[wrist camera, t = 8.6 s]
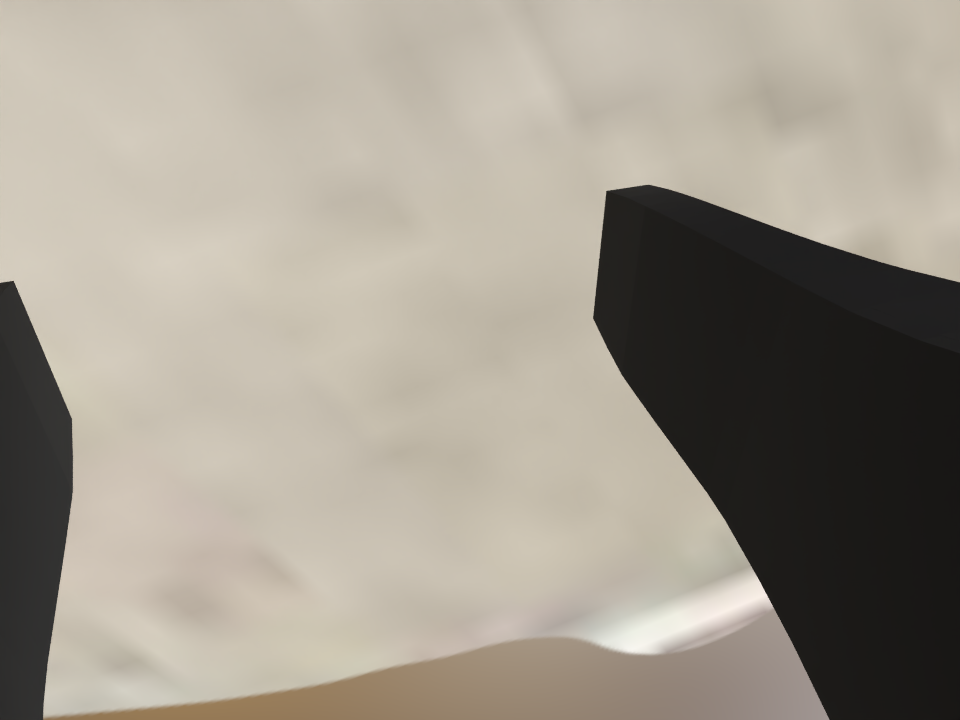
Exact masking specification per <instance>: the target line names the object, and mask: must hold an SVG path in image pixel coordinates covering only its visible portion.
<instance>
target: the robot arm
mask: <svg viewBox="0 0 960 720" xmlns="http://www.w3.org/2000/svg"><path fill="white" fill-rule="evenodd" d="M593 319H594V321H595V323H596V325H597V327H598V329H599V331H600V333H601V335H602V338H603V340H604V342H605V344H606V346H607V348H608V350H609V352H610V354H611V355H612V357H613V359H614V361H615V363H616V365H617V367H618V368H619V370H620V372H621V374H622V376H623V377H624V379H625V380H626V381H627V383H628V384H629V386H630V387H631V389H632V390H633V391H634V393H635V394H636V396H637V397H638V398H639V400H640V401H641V403H642V404H643V405H644V407H645V408H646V410H647V411H648V412H649V414H650V415H651V417H652V418H653V419H654V421H655V422H656V424H657V425H658V426H659V428H660V429H661V430H662V432H663V433H664V434H665V436H666V437H667V439H668V440H669V441H670V443H671V444H672V445H673V447H674V448H675V449H676V451H677V452H678V454H679V455H680V456H681V458H682V459H683V460H684V462H685V463H686V465H687V466H688V467H689V469H690V470H691V471H692V473H693V474H694V475H695V477H696V478H697V480H698V481H699V482H700V484H701V485H702V486H703V488H704V489H705V491H706V492H707V493H708V495H709V496H710V498H711V499H712V501H713V502H714V504H715V505H716V507H717V509H718V510H719V512H720V513H721V515H722V516H723V518H724V519H725V521H726V522H727V524H728V526H729V528H730V530H731V531H732V533H733V535H734V537H735V538H736V540H737V542H738V544H739V545H740V547H741V549H742V551H743V552H744V554H745V556H746V558H747V559H748V561H749V563H750V565H751V566H752V568H753V570H754V572H755V573H756V575H757V577H758V579H759V581H760V582H761V584H762V586H763V588H764V590H765V592H766V594H767V596H768V598H769V600H770V601H771V603H772V605H773V607H774V609H775V611H776V613H777V615H778V617H779V618H780V620H781V622H782V624H783V626H784V628H785V630H786V632H787V633H788V636H789V637H790V639H791V641H792V643H793V645H794V647H795V649H796V651H797V653H798V655H799V657H800V659H801V662H802V664H803V666H804V668H805V670H806V672H807V674H808V676H809V678H810V680H811V682H812V684H813V686H814V688H815V691H816V692H817V695H818V697H819V699H820V701H821V703H822V705H823V707H824V709H825V711H826V713H827V715H828V717H829V719H830V720H960V282H956V281H952V280H948V279H943V278H939V277H935V276H931V275H927V274H923V273H919V272H915V271H911V270H907V269H903V268H899V267H896V266H892V265H889V264H885V263H881V262H878V261H875V260H871V259H868V258H865V257H862V256H859V255H856V254H852V253H849V252H846V251H843V250H840V249H837V248H834V247H830V246H827V245H824V244H821V243H818V242H815V241H813V240H810V239H807V238H804V237H801V236H798V235H795V234H792V233H790V232H787V231H784V230H781V229H779V228H776V227H773V226H770V225H768V224H765V223H762V222H759V221H757V220H754V219H751V218H749V217H746V216H743V215H741V214H738V213H735V212H732V211H730V210H727V209H724V208H722V207H719V206H716V205H713V204H711V203H708V202H705V201H702V200H700V199H697V198H694V197H691V196H688V195H685V194H682V193H679V192H675V191H672V190H668V189H665V188H661V187H656V186H652V185H643V186H637V187H630V188H624V189H617V190H610V191H606V201H605V210H604V220H603V230H602V239H601V249H600V258H599V268H598V277H597V287H596V296H595V306H594V316H593ZM72 493H73V448H72V418H71V416H70V414H69V411H68V409H67V406H66V404H65V402H64V399H63V397H62V395H61V392H60V390H59V387H58V385H57V383H56V380H55V378H54V376H53V373H52V371H51V368H50V366H49V364H48V361H47V359H46V357H45V354H44V352H43V349H42V347H41V345H40V342H39V340H38V338H37V335H36V333H35V331H34V328H33V326H32V323H31V321H30V319H29V316H28V314H27V312H26V309H25V307H24V304H23V302H22V300H21V297H20V295H19V293H18V290H17V288H16V285H15V283H14V281H10V282H3V283H0V720H43V703H44V693H45V683H46V673H47V663H48V656H49V650H50V643H51V637H52V630H53V623H54V617H55V610H56V604H57V597H58V590H59V584H60V577H61V570H62V564H63V557H64V551H65V544H66V537H67V530H68V522H69V515H70V508H71V500H72Z"/></svg>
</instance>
